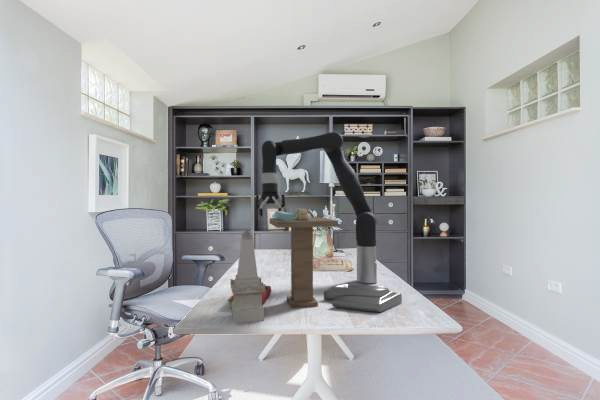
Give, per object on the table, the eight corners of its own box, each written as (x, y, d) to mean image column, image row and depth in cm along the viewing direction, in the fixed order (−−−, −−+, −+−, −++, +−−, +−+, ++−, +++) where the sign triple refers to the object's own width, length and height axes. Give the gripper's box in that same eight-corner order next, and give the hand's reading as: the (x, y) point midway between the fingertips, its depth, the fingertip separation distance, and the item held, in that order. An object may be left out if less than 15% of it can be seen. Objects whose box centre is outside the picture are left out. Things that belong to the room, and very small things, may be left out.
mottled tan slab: (300, 277, 189) (355, 275, 189) (300, 266, 189) (355, 264, 188) (301, 264, 217) (349, 262, 216) (301, 254, 217) (349, 252, 216)
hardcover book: (271, 295, 145) (271, 285, 145) (260, 311, 124) (260, 299, 124) (243, 294, 146) (243, 284, 146) (227, 310, 125) (227, 299, 125)
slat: (275, 217, 150) (275, 211, 150) (282, 216, 151) (281, 211, 151) (285, 221, 123) (285, 214, 123) (293, 221, 123) (293, 214, 123)
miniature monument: (265, 321, 113) (265, 229, 113) (233, 324, 110) (232, 230, 110) (260, 311, 123) (260, 227, 123) (230, 313, 120) (230, 227, 120)
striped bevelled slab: (339, 301, 117) (318, 282, 144) (339, 317, 117) (318, 295, 144) (414, 296, 123) (380, 278, 150) (414, 311, 123) (380, 291, 150)
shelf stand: (269, 296, 141) (269, 208, 140) (322, 293, 145) (321, 208, 145) (277, 314, 119) (276, 210, 119) (338, 310, 124) (338, 209, 123)
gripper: (283, 183, 172) (283, 215, 172) (254, 183, 169) (254, 216, 169) (285, 182, 165) (286, 216, 165) (255, 182, 162) (256, 216, 162)
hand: (270, 216), depth 167 cm, fingers open, 8 cm apart
